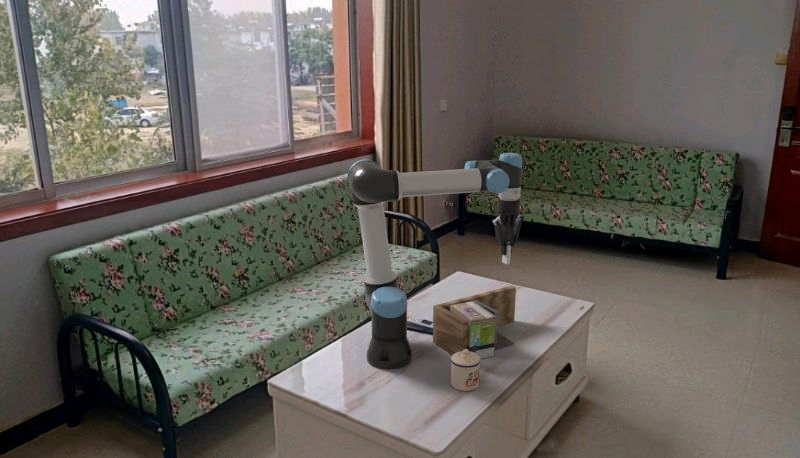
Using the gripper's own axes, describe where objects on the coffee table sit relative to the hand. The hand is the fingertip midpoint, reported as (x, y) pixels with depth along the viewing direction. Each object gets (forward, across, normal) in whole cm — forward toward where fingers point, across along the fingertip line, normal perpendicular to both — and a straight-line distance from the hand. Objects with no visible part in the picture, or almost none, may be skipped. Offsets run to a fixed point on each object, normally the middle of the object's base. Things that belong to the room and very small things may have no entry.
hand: (506, 263), depth 224 cm
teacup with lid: (+27, -34, -22) cm, 48 cm away
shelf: (+26, -9, -3) cm, 28 cm away
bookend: (+26, -8, -4) cm, 28 cm away
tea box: (+27, -19, -5) cm, 33 cm away
